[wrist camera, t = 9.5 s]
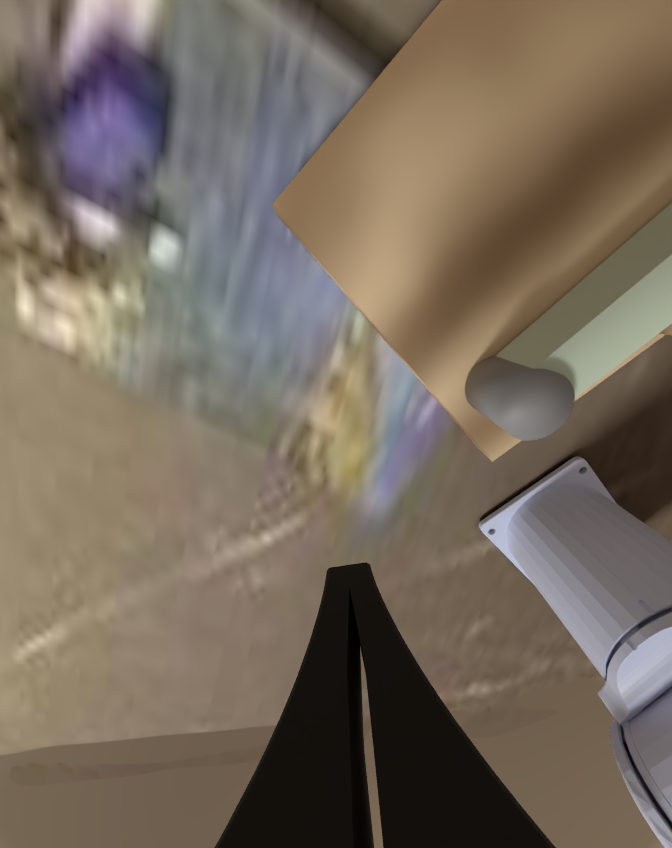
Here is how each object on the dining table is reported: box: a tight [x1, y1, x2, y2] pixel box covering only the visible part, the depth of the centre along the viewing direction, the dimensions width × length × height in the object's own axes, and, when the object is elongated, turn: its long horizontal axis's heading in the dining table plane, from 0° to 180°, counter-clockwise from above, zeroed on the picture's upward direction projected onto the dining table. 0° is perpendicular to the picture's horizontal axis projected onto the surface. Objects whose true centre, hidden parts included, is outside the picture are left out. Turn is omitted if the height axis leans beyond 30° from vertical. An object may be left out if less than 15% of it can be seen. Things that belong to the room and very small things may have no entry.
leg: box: [465, 203, 672, 440], centre depth 13 cm, size 14×3×4 cm, turn 135°
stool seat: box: [272, 0, 672, 462], centre depth 12 cm, size 17×17×6 cm
